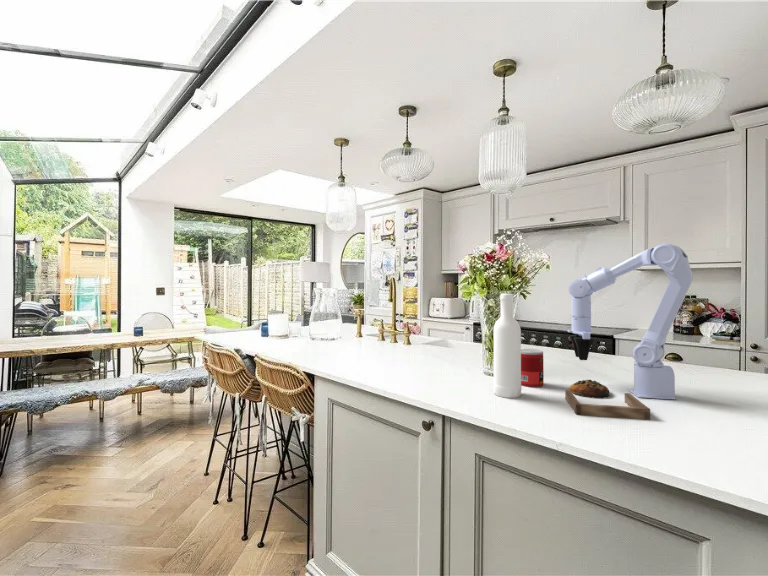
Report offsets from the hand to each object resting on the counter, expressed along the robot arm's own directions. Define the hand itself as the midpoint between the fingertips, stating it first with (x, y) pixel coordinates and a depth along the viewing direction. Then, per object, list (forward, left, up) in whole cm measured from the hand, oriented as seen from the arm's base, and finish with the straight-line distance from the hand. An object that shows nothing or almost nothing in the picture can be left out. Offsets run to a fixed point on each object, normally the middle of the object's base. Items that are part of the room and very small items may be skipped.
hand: (581, 358), depth 129 cm
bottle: (+24, +18, -9) cm, 31 cm away
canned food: (+16, +4, -9) cm, 19 cm away
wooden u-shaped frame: (0, +26, -8) cm, 27 cm away
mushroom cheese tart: (0, +10, -9) cm, 14 cm away
